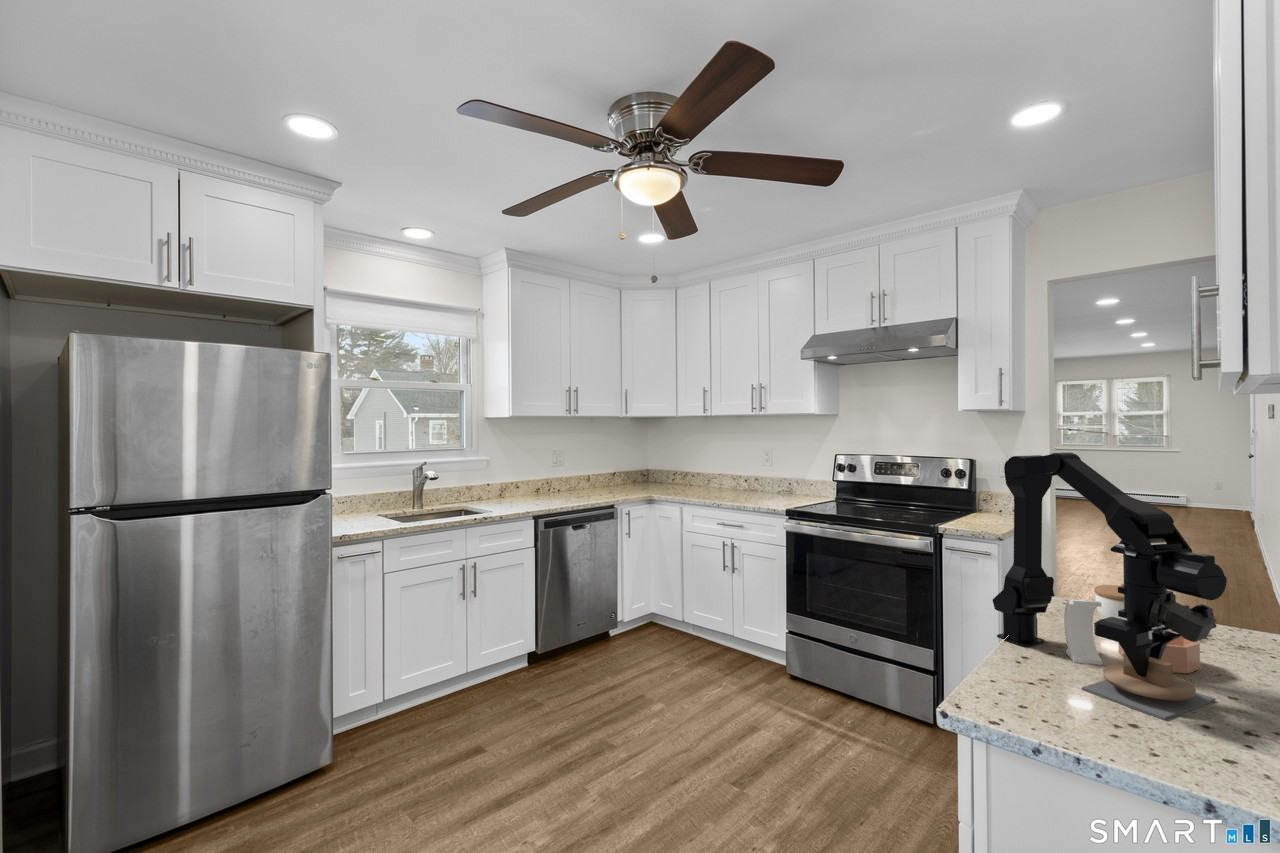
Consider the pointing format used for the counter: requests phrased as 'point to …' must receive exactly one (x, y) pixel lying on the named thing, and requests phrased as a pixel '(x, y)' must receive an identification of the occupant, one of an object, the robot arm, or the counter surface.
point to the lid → (1150, 680)
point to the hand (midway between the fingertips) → (1146, 674)
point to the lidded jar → (1109, 600)
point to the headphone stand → (1081, 631)
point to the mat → (1147, 701)
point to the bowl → (1180, 655)
